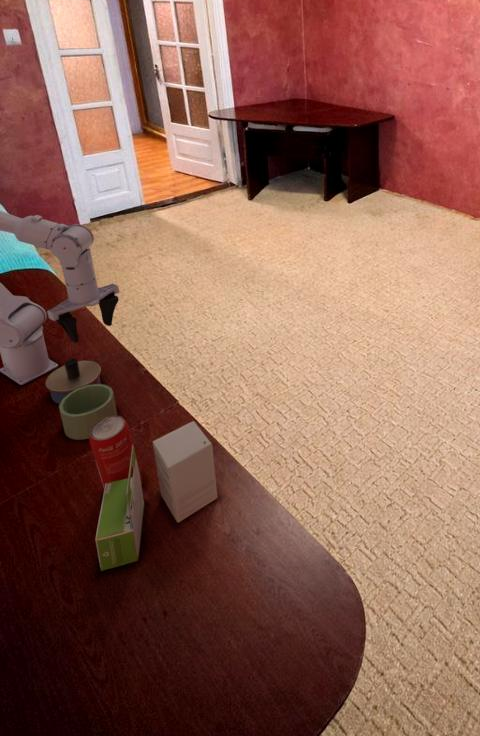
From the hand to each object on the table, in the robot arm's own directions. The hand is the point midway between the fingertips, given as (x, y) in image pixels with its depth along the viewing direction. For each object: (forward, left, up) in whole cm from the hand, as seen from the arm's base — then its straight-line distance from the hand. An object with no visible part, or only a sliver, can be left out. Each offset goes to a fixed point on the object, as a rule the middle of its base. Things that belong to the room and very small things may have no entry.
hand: (91, 332), depth 111 cm
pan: (+3, -7, -10) cm, 13 cm away
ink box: (+43, -22, -11) cm, 49 cm away
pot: (+15, -11, -10) cm, 21 cm away
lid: (+3, -7, -7) cm, 10 cm away
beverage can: (+35, -17, -11) cm, 40 cm away
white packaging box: (+46, -12, -11) cm, 48 cm away
